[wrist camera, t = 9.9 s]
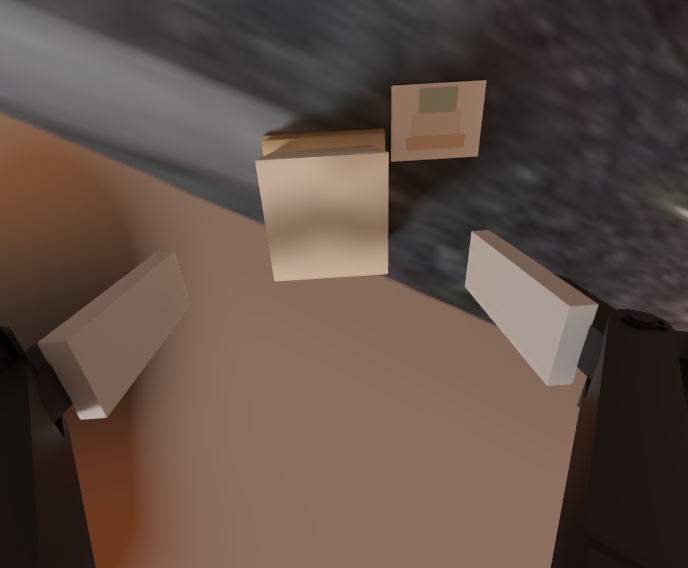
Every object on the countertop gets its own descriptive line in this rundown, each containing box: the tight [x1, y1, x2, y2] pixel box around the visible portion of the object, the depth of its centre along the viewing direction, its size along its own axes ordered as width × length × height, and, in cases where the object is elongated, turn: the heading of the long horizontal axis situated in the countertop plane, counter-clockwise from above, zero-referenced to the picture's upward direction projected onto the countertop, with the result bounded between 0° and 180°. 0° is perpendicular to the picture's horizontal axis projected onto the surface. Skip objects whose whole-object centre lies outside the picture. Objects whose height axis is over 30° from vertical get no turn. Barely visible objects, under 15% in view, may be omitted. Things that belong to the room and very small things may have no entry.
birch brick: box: [255, 145, 389, 281], centre depth 25 cm, size 8×8×8 cm
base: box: [261, 129, 385, 156], centre depth 30 cm, size 11×11×3 cm
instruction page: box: [391, 80, 487, 162], centre depth 29 cm, size 6×8×1 cm
